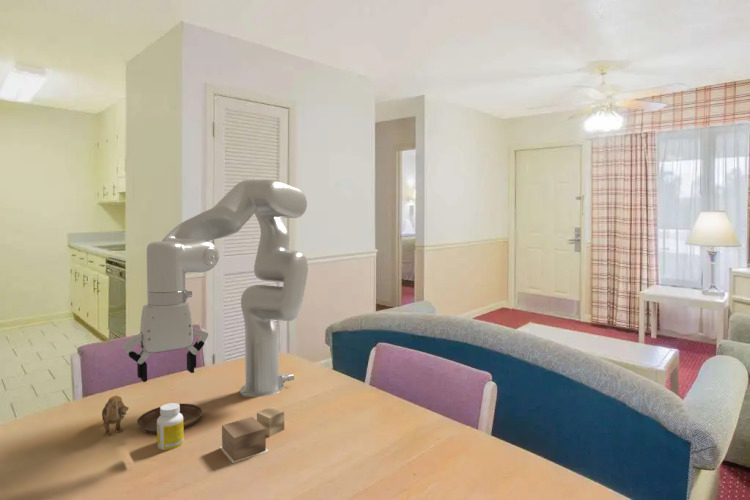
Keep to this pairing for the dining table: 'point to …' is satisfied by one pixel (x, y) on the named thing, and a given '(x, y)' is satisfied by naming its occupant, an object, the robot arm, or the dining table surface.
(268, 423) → the oak cube
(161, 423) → the supplement bottle
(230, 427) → the walnut block
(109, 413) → the lion figurine
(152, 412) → the saucer
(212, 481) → the dining table surface
